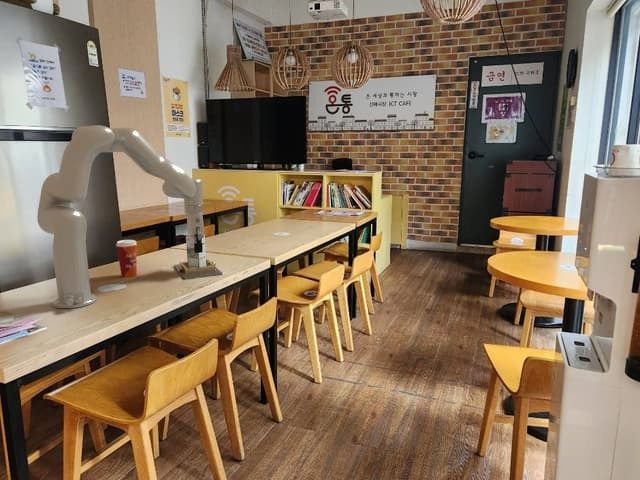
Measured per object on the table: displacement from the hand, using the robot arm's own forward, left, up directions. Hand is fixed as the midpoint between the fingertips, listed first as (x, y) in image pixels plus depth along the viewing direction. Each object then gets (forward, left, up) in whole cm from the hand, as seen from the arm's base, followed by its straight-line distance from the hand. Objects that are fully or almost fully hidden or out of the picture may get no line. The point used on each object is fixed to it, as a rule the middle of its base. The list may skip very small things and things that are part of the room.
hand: (195, 250), depth 188 cm
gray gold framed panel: (0, 0, -9) cm, 9 cm away
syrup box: (0, 0, -8) cm, 8 cm away
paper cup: (+5, +26, -9) cm, 28 cm away
